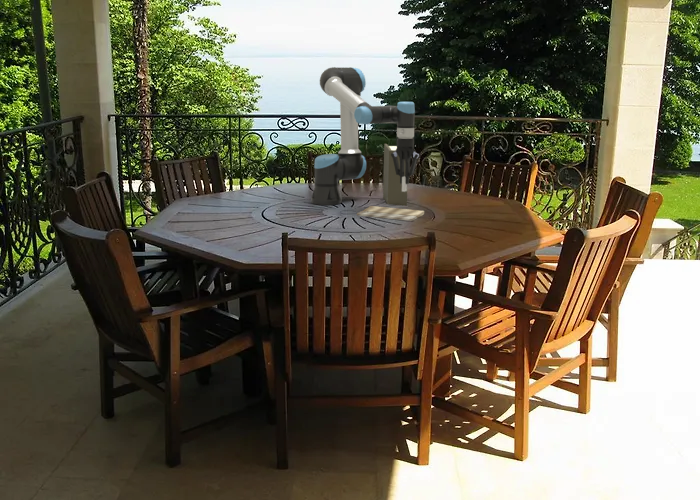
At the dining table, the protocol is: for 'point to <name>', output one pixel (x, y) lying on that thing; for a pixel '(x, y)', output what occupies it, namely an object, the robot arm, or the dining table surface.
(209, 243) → the dining table surface
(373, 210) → the plank
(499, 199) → the dining table surface
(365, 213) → the laid boards
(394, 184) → the olive curved-top slab
